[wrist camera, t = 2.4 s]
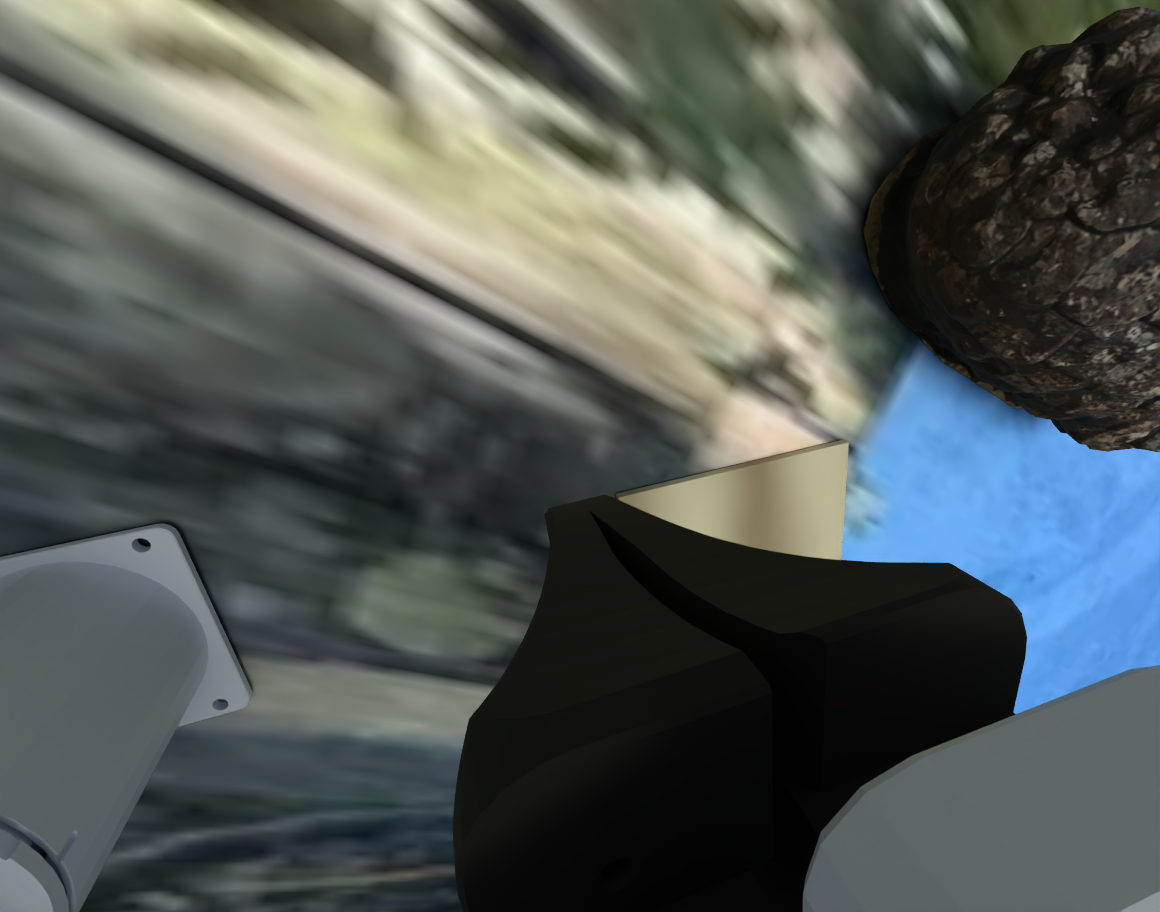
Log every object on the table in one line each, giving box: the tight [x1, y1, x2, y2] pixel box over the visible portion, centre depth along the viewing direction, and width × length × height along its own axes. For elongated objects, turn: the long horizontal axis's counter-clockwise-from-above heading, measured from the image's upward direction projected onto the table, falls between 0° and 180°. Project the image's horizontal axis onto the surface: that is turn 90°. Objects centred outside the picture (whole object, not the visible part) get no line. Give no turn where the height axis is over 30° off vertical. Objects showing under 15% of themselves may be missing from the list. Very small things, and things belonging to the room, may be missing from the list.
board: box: [616, 440, 849, 560], centre depth 26 cm, size 11×14×1 cm
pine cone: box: [863, 7, 1160, 452], centre depth 19 cm, size 10×18×10 cm, turn 60°
